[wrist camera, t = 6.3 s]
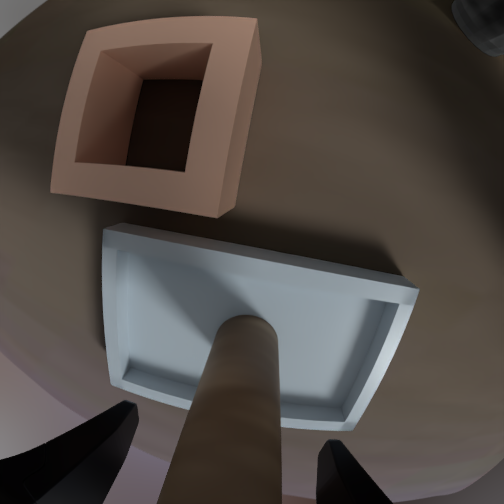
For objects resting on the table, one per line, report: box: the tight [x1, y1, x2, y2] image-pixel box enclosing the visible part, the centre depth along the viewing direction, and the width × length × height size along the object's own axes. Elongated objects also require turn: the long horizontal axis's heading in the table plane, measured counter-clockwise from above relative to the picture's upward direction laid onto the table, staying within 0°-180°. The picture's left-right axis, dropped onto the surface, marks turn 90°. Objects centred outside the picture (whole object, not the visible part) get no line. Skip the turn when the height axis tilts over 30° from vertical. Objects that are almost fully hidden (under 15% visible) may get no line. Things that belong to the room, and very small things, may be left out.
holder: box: [50, 16, 262, 218], centre depth 9 cm, size 7×7×4 cm
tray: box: [102, 223, 420, 431], centre depth 13 cm, size 14×9×2 cm, turn 80°
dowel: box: [157, 315, 282, 504], centre depth 8 cm, size 3×3×10 cm
